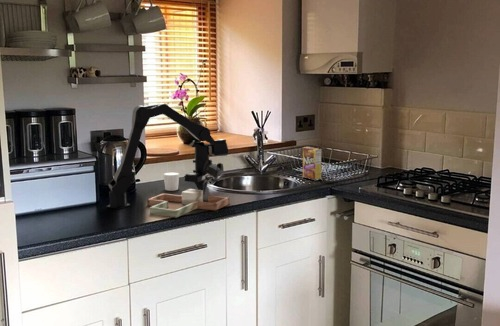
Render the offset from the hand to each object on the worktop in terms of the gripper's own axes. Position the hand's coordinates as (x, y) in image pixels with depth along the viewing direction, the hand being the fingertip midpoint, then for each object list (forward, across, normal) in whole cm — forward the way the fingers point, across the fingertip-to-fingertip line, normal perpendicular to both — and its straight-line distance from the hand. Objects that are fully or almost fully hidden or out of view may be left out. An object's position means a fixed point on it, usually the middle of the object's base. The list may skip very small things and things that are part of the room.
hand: (202, 195), depth 230 cm
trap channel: (+2, -16, 0) cm, 16 cm away
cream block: (+2, -8, 0) cm, 8 cm away
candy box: (+2, +53, -28) cm, 60 cm away
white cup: (+2, +9, +21) cm, 23 cm away
